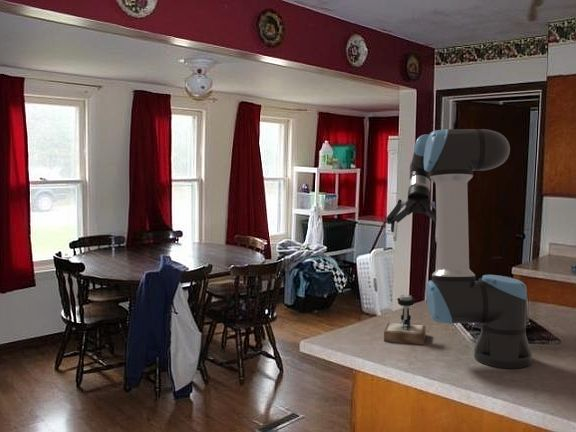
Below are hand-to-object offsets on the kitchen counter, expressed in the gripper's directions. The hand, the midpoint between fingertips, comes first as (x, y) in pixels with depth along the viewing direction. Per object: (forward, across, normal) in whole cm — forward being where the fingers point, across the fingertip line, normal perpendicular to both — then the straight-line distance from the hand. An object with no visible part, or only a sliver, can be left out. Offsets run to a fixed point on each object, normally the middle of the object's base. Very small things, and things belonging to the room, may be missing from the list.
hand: (415, 239), depth 190 cm
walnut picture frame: (+30, +2, -12) cm, 32 cm away
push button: (+28, +2, -10) cm, 29 cm away
